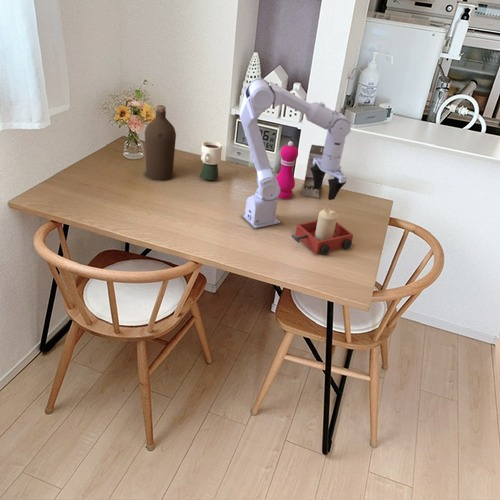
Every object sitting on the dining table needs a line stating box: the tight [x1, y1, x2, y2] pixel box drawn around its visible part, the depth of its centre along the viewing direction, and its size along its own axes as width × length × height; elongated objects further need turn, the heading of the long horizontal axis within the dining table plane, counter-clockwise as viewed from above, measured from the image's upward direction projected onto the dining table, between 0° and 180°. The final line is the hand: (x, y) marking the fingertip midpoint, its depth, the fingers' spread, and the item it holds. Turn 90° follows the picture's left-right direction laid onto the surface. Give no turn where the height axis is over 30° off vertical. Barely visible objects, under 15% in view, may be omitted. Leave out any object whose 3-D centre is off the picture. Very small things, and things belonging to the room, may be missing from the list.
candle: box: [315, 207, 338, 241], centre depth 161 cm, size 6×6×10 cm
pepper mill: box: [276, 140, 299, 200], centre depth 183 cm, size 7×7×20 cm
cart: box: [294, 219, 354, 255], centre depth 163 cm, size 13×11×4 cm
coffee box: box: [301, 144, 324, 199], centre depth 189 cm, size 9×6×16 cm
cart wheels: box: [291, 234, 353, 255], centre depth 162 cm, size 17×13×3 cm
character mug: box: [200, 140, 223, 181], centre depth 190 cm, size 11×7×13 cm, turn 158°
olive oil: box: [144, 104, 177, 181], centre depth 184 cm, size 11×11×25 cm
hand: (324, 193), depth 168 cm, fingers open, 7 cm apart
